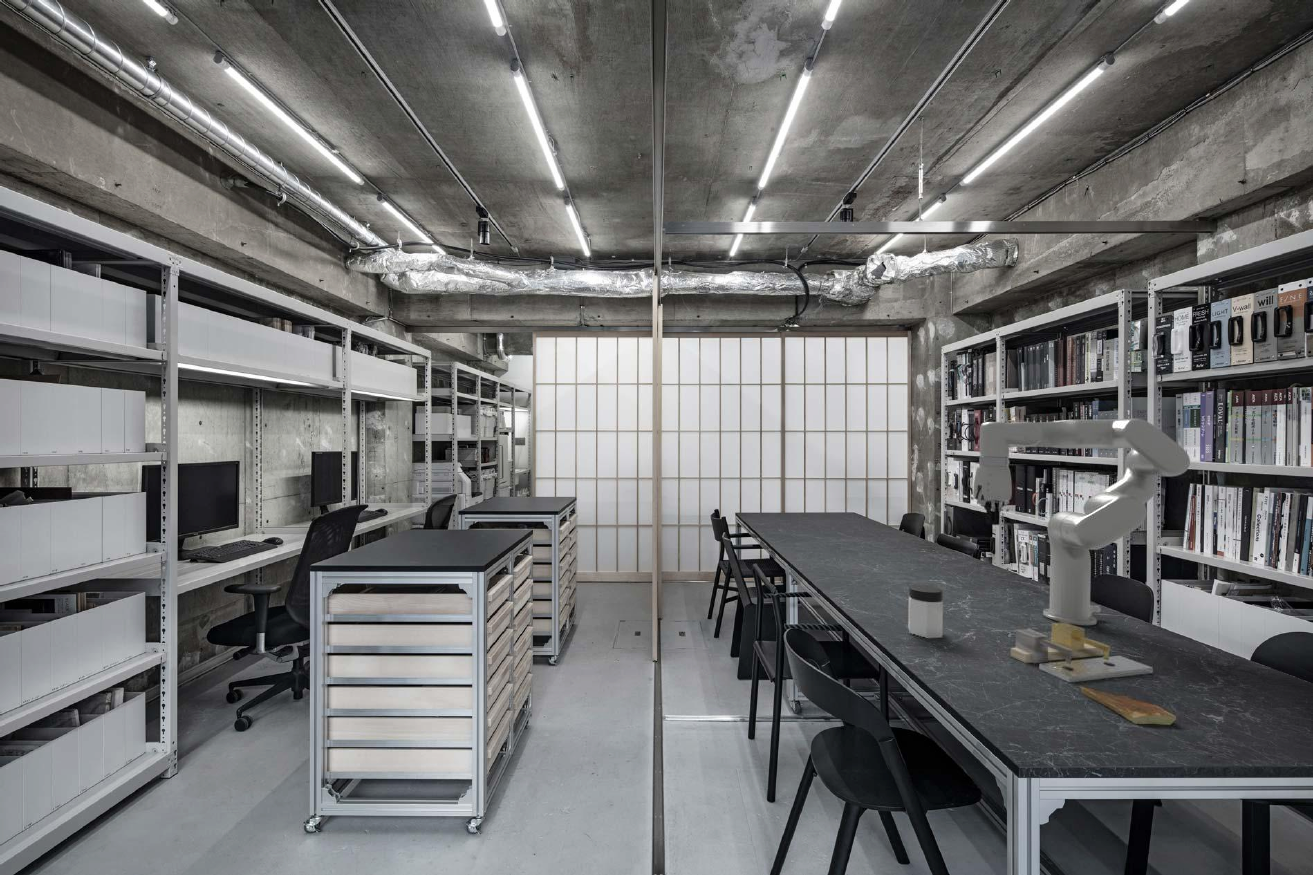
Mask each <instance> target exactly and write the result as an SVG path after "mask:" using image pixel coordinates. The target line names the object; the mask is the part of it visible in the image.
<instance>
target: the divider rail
mask: <svg viewBox="0 0 1313 875" xmlns="http://www.w3.org/2000/svg"><path fill="white" fill-rule="evenodd" d="M1098 656H1101V657H1102V656H1103V650H1102V649H1099V648H1096V647H1093V646H1091V645H1088V644H1085V643H1084V649H1079V650H1072V649H1069V648H1066V647H1064V646H1061V645H1059V644H1056V643H1053V642H1051V640H1049V636H1048V635H1046V634H1044V633H1041V632H1038V631H1036V630H1032V629H1029V628H1026V629H1016V630H1015V647H1010V657H1011V658H1013V659H1016V660H1018V661H1020V662H1022V663H1024V664H1029V663H1033V664H1037V663H1038V664H1042V663H1049V662H1050V661H1057V660H1058V661H1059V660H1065V661H1066V663H1068V664H1071V661H1072V659H1077V658H1089V657H1098Z"/></svg>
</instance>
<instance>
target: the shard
mask: <svg viewBox="0 0 1313 875" xmlns="http://www.w3.org/2000/svg"><path fill="white" fill-rule="evenodd" d="M1078 686H1079V688H1080V689H1081V691H1080V692H1081V694H1083V695H1085V696H1087V697H1089V698H1090V699H1093V700H1094V701H1096V702H1098V703H1100V704H1102V705H1103V706H1105V707H1107V708H1109V709H1110V710H1112V711H1113V712H1114V713H1117V714H1118V715H1119V716H1122V717H1123V718H1125V719H1127V721H1129V722H1130V723H1131V722H1132V724H1134V725H1137V724H1139V725H1140V724H1142V725H1150V724H1152V725H1153V724H1154V725H1164V726H1166V725H1169V726H1170V725H1171V724H1173V723H1174V722H1175V721H1176V719H1177V717H1176V716H1175V715H1174V714H1173V713H1170V712H1168V711H1167V710H1165V709H1163V708H1162V707H1160V705H1157V704H1154V703H1151V702H1148V701H1144V700H1139V699H1137V698H1134V697H1130V696H1126V695H1122V694H1119V693H1114V692H1109V691H1105V690H1101V689H1097V688H1093V687H1089V686H1086V685H1081V684H1079V685H1078Z"/></svg>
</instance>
